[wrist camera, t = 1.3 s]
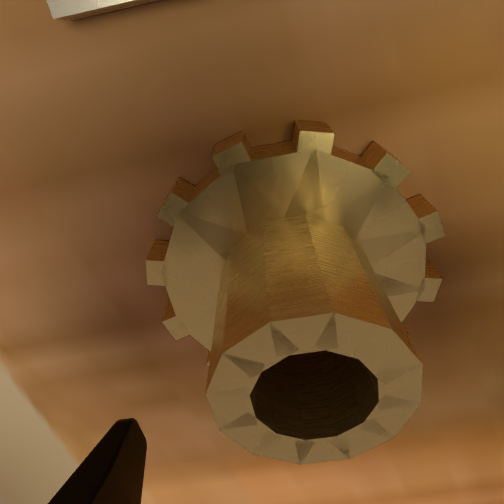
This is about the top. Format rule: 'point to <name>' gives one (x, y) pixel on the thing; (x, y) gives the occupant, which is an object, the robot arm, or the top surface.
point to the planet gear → (300, 292)
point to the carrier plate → (88, 7)
